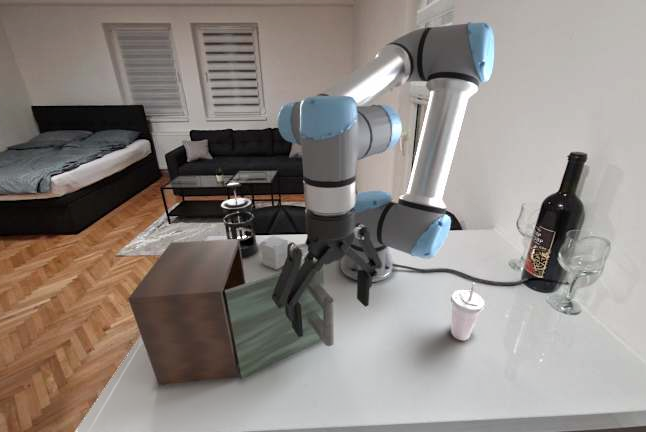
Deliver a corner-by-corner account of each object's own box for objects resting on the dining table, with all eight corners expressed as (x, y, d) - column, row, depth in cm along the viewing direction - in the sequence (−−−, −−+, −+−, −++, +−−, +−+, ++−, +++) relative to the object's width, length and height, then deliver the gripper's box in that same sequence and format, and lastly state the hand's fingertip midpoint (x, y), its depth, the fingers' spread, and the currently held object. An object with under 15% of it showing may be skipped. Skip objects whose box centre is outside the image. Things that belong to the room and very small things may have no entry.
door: (342, 361, 60) (343, 280, 52) (253, 409, 51) (237, 320, 43) (322, 335, 66) (320, 258, 58) (240, 374, 57) (224, 290, 49)
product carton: (290, 261, 94) (288, 240, 91) (276, 270, 89) (274, 248, 86) (275, 255, 97) (273, 235, 94) (261, 264, 92) (259, 243, 89)
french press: (251, 260, 94) (241, 190, 85) (222, 258, 95) (209, 189, 86) (263, 242, 105) (256, 178, 95) (237, 240, 106) (227, 177, 96)
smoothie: (461, 349, 63) (473, 295, 57) (438, 329, 68) (447, 277, 62) (482, 338, 65) (496, 285, 60) (458, 319, 71) (469, 269, 65)
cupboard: (250, 311, 73) (239, 238, 65) (237, 377, 57) (220, 291, 49) (189, 316, 72) (170, 242, 64) (158, 385, 56) (127, 298, 47)
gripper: (378, 185, 54) (373, 281, 63) (239, 217, 42) (257, 330, 51) (408, 197, 48) (398, 302, 57) (257, 238, 37) (273, 362, 45)
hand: (332, 316), depth 54 cm, fingers open, 13 cm apart
